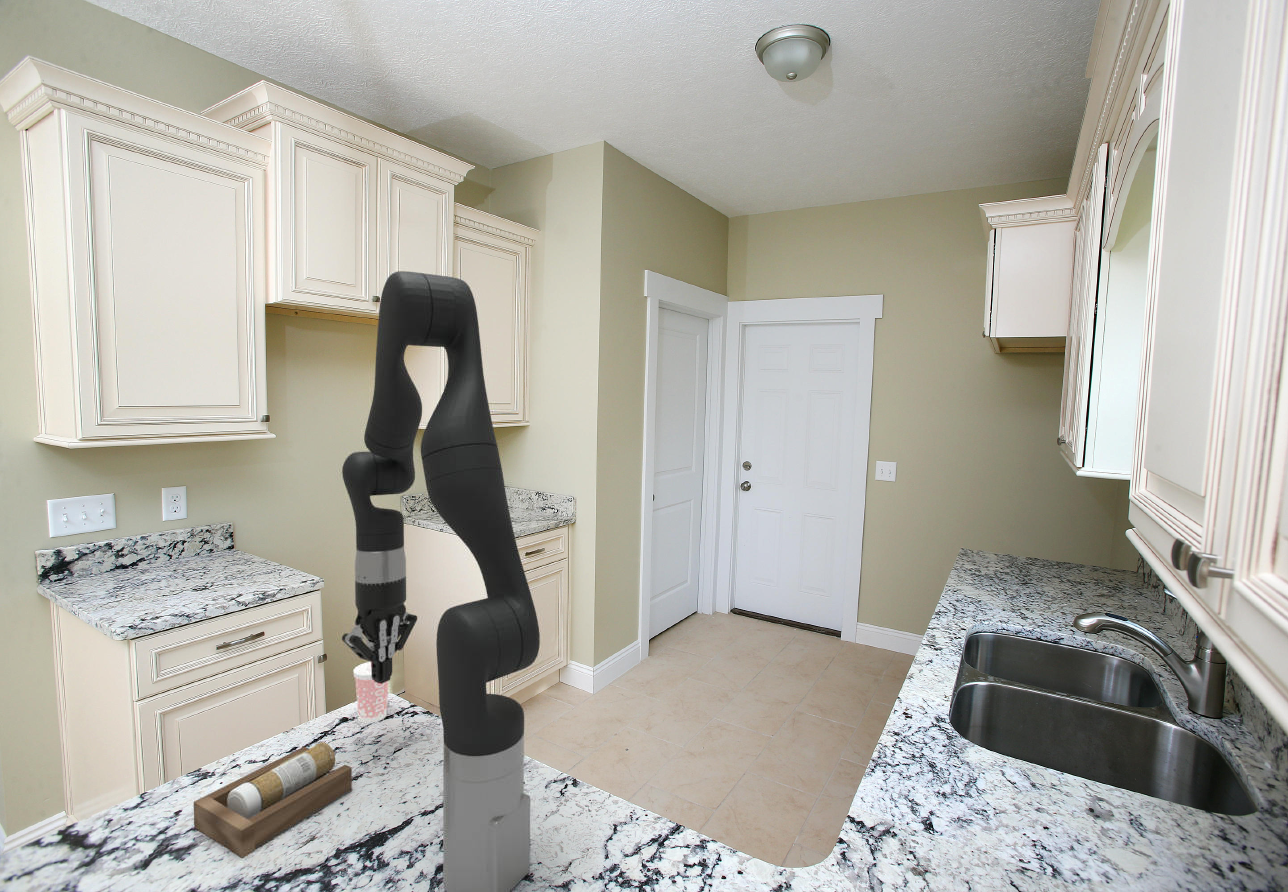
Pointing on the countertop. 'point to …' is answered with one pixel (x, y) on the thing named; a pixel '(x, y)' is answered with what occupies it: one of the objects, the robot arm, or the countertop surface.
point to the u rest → (267, 809)
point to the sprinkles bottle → (281, 781)
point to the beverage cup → (370, 695)
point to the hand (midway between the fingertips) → (382, 680)
